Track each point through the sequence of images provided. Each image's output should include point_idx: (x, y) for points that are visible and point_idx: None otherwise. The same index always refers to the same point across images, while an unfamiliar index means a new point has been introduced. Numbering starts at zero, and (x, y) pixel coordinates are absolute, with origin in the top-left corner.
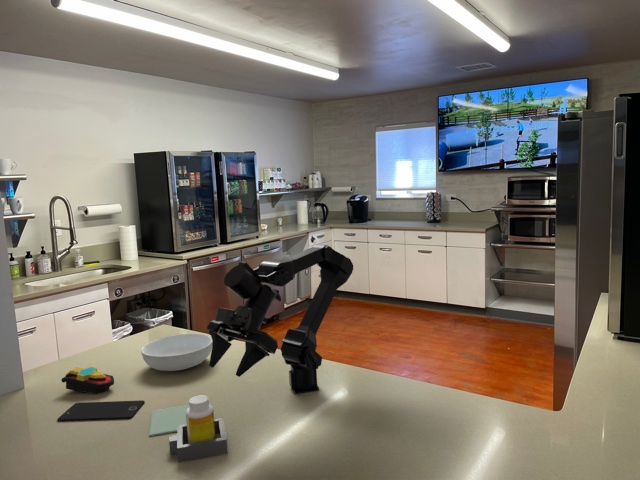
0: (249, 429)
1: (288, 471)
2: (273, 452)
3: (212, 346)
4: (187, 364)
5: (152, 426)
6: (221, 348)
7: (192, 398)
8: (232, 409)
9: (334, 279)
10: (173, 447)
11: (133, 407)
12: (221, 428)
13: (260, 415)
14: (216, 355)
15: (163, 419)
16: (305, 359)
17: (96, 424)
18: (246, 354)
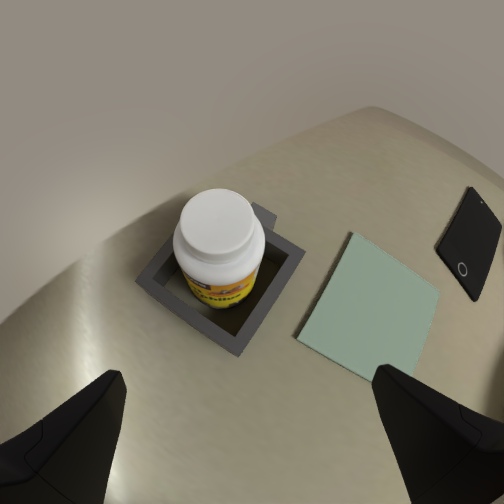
0: (185, 399)
1: (26, 309)
2: (71, 347)
3: (480, 416)
4: None
5: (382, 254)
6: (433, 474)
7: (243, 209)
8: (316, 439)
9: None
10: None
11: (464, 272)
12: (188, 311)
13: (221, 464)
14: (411, 424)
15: (395, 286)
16: None
17: (443, 208)
18: (22, 450)
